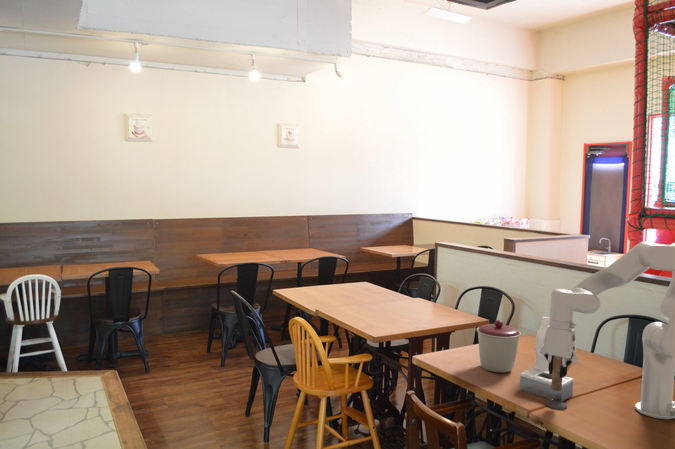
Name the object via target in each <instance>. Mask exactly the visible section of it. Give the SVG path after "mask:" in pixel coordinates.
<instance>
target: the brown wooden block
mask: <svg viewBox="0 0 675 449" xmlns="http://www.w3.org/2000/svg"><path fill="white" fill-rule="evenodd" d="M561 366H562V358H561V357H558V356H553V369H552V384H551V389H553V390H556V391H561V390H562V378H561V377H560V371H561Z"/></svg>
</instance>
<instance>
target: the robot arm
mask: <svg viewBox="0 0 675 449" xmlns="http://www.w3.org/2000/svg"><path fill="white" fill-rule="evenodd" d="M649 269H653V270H654V271H655V270H657V271H667V272H672V276H671V279H670V280H671V281H670V283H669V285H668V288H667V289H666V292H665V293H664V296H663V298H662V300H661V302H660V304H659V309H658V312H659V314H660V316H661V317H662V318H663V319H665V320H666V321H668V323H665V322H661V321H654V322H651V323H649V324H647V325H645V327H644V329H643V332H642V338H641V339H642V349H643V359H642V360H643V361H642V362H643V363H642V364H643V365H642V373H641V375H642V376H641V377H642V378H641V390H640V391H641V392H640V401H639V402H636V403H635V404H634V408H635V410H636V411H637V412H638V413H640V414H642V415H644V416H647V417H651V418H654V419H658V420H660V419H661V420H674V419H675V401H674V400H673V397H674V384H675V383H674V382H675V242H673V243H671V244H662V243H661V244H660V243H656V242H652V241H641V242H639V243H637V244H636V245H634V247H631V248H630V249H629V250H628V251H627V252H625V253H624V254H623V255H621V256H620V257H619V258H617V259H616V260H615V261H614V262H612V263H611V264H610V265H608V266H607V267H605V268H602V269H600V270H598V271H597V272H594V273H592V274H590V275H589V276H587V277H585V278H584V279H583V280H581V281H580V282H579V283H578V284H576V285H575V286H574V287H573V288H572V289H571V290H569V289H566V288H554V289H553V290H552V291H551V294H550V310H549V317H550V321H549V326H548V327H547V330H546V333H545V338H544V346H543V347H542V349H541V350H540V353H541V354H542V355H544V356H545V358H546V359H547V362H548V363H549V367H548V371H549V374H552V369H553V356H558V357H561V358H562V366H561V371H560V377H561V378H563V377H565V376H566V377H567V375H568V367H569V365H571V364H574V363H577V362H579V358H578V356H577V354H576V353H577V341H576V339H577V338H576V331H575V329H577V323H574V321H573V319H574V312H577V313H582V314H586V315H588V314H594V313H597V311H599V309H600V307H601V300H600V298H599V297H598V296H599V295H600V294H601V293H604V292H605V291H608V290H611V289H616V288H622V287H625V286H629V285H630V284H631V283H632V282H633V281H635V280H637V278H638V277H640V276H641V275H642V274H644V273H646V271H648V270H649ZM571 357H572V359H570V358H571ZM569 359H570V360H569Z"/></svg>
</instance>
